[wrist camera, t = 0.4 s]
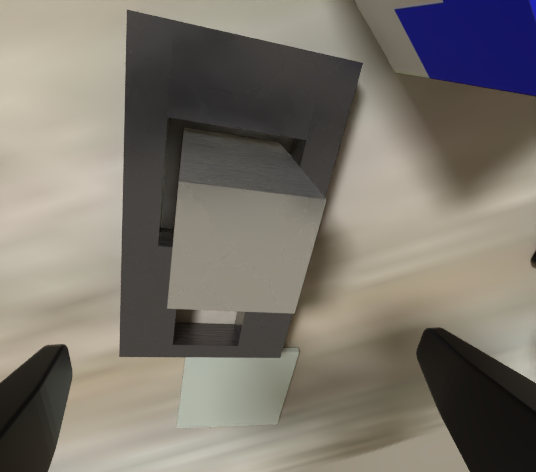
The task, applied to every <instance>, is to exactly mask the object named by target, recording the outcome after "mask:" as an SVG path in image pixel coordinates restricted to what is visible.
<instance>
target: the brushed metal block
mask: <svg viewBox="0 0 536 472" xmlns="http://www.w3.org/2000/svg"><path fill="white" fill-rule="evenodd" d="M326 201H327V199H326V198H325V197H324V196H323V194H322V193H321V192H320V191H319V190H318V188H317V187H316V186H315V185H314V184H313V182H312V181H311V180H310V179H309V177H308V176H307V175H306V174H305V173H304V171H303V170H302V169H301V168H300V167H299V165H298V164H297V163H296V162H295V161H294V159H293V158H292V157H291V156H290V154H289V153H288V152H287V151H286V150H285V148H284V147H283V146H282V145H281V144H280V143H279V142H273V141H266V140H260V139H254V138H247V137H241V136H235V135H228V134H222V133H216V132H209V131H203V130H197V129H190V128H184V133H183V143H182V153H181V163H180V173H179V183H178V194H177V205H176V216H175V227H174V238H173V249H172V260H171V271H170V282H169V293H168V304H167V309H191V310H216V311H241V312H266V313H292V314H295V310H296V307H297V303H298V300H299V296H300V293H301V289H302V286H303V282H304V279H305V275H306V272H307V268H308V264H309V261H310V257H311V254H312V250H313V247H314V243H315V240H316V236H317V233H318V229H319V226H320V222H321V218H322V215H323V211H324V208H325V204H326Z"/></svg>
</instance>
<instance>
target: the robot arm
mask: <svg viewBox="0 0 536 472" xmlns="http://www.w3.org/2000/svg"><path fill="white" fill-rule="evenodd" d="M532 262H533V263H534V264H535V265H536V254H535V255H534V257H533V259H532ZM416 354H417V359H418V362H419V364H420V367H421V369H422V372H423V374H424V377H425V379H426V382H427V384H428V387H429V389H430V391H431V394H432V396H433V399H434V401H435V404H436V406H437V408H438V411H439V413H440V415H441V417H442V419H443V421H444V423H445V425H446V427H447V429H448V430H449V432H450V434H451V436H452V438H453V440H454V442H455V444H456V446H457V448H458V449H459V452H460V453H461V455H462V457H463V459H464V461H465V463H466V465H467V467H468V469H469V471H470V472H536V383H535V382H533V381H531V380H530V379H528V378H526V377H524V376H523V375H521V374H519V373H518V372H516V371H514V370H513V369H511V368H509V367H507V366H506V365H504V364H502V363H501V362H499V361H497V360H496V359H494V358H492V357H490V356H489V355H487V354H485V353H484V352H482V351H480V350H479V349H477V348H475V347H473V346H472V345H470V344H468V343H467V342H465V341H463V340H462V339H460V338H458V337H456V336H455V335H453V334H451V333H450V332H448V331H446V330H444V329H443V328H439V327H436V328H426V329H425V330H424V332H423V334H422V337H421V340H420V342H419V345H418V348H417V353H416ZM71 381H72V367H71V362H70V357H69V352H68V348H67V346H66V345H64V344H57V345H46V346H44V347H43V348H42V349H40V350H39V351H38V352H37V353H36V354H34V355H33V356H32V357H31V358H30V359H28V360H27V361H26V362H25V363H23V364H22V365H21V366H20V367H19V368H17V369H16V370H15V371H14V372H13V373H11V374H10V375H9V376H8V377H7V378H5V379H4V380H3V381H2V382H1V383H0V472H48V470H49V467H50V464H51V461H52V458H53V455H54V452H55V449H56V445H57V441H58V437H59V433H60V429H61V424H62V420H63V416H64V411H65V407H66V403H67V399H68V394H69V390H70V386H71Z"/></svg>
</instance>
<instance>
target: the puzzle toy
mask: <svg viewBox="0 0 536 472" xmlns="http://www.w3.org/2000/svg"><path fill="white" fill-rule="evenodd" d="M354 1H355V3H356V5H357V7H358V8H359V10H360V12H361V14H362V15H363V17H364V19H365V21H366V23H367V24H368V26H369V28H370V30H371V31H372V33H373V35H374V37H375V38H376V40H377V42H378V44H379V45H380V47H381V49H382V51H383V52H384V54H385V56H386V58H387V60H388V61H389V63H390V65H391V67H392V68H393V70H394V72H396V73H402V74H408V75H414V76H420V77H426V78H431V79H437V80H443V81H449V82H455V83H461V84H466V85H472V86H478V87H484V88H490V89H496V90H502V91H507V92H513V93H519V94H525V95H531V96H536V0H354Z"/></svg>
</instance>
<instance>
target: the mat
mask: <svg viewBox="0 0 536 472" xmlns="http://www.w3.org/2000/svg"><path fill="white" fill-rule="evenodd" d="M298 355H299V349H298V348H283V350H282V354H281V357H280V358H214V357H185V364H184V372H183V380H182V388H181V396H180V404H179V411H178V419H177V428H196V427H222V426H249V425H276V424H277V423H278V420H279V416H280V413H281V410H282V407H283V403H284V400H285V397H286V394H287V390H288V387H289V384H290V381H291V377H292V374H293V371H294V368H295V364H296V361H297V358H298Z"/></svg>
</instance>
